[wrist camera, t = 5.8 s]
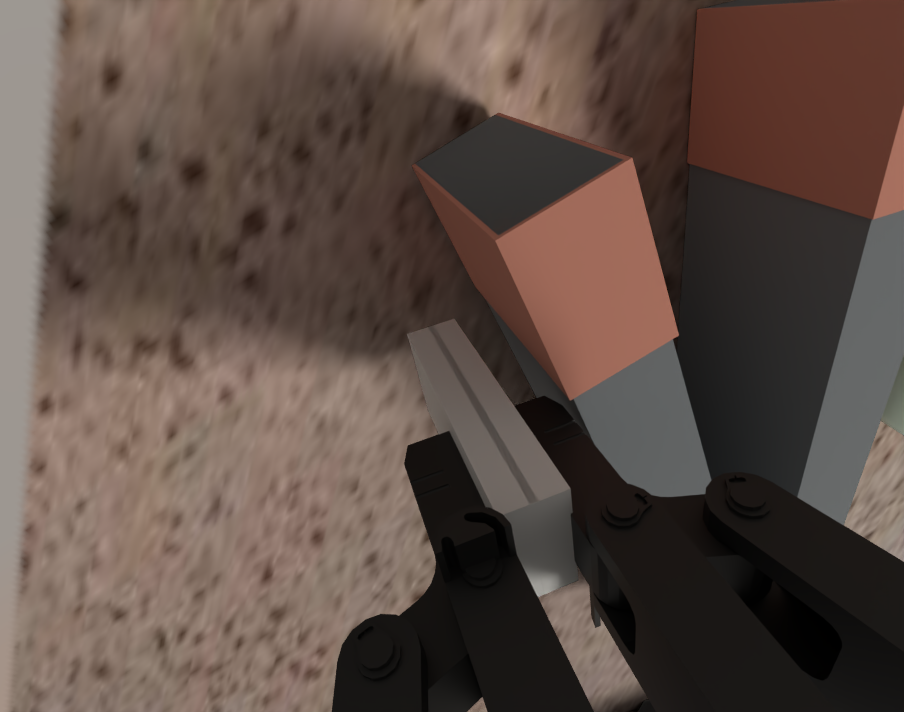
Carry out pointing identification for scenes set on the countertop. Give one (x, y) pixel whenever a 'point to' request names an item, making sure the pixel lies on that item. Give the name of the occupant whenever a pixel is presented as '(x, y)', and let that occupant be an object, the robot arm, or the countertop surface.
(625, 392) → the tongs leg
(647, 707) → the tool
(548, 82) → the countertop surface
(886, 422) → the grey-green pebble
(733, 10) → the tongs base
